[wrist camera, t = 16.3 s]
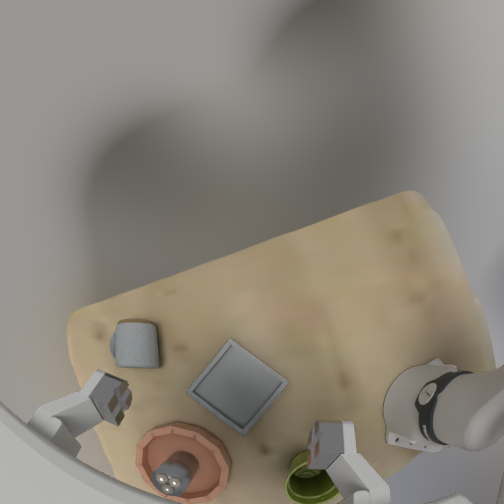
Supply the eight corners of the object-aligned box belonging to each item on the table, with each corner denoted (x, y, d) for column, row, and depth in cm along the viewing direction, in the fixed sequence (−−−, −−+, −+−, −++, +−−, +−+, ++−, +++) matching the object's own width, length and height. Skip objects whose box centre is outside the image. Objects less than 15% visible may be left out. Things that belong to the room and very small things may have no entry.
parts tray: (288, 380, 41) (289, 381, 40) (244, 432, 38) (243, 435, 36) (231, 338, 44) (230, 337, 42) (188, 390, 41) (185, 391, 39)
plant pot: (332, 480, 33) (345, 500, 25) (280, 487, 33) (284, 509, 25) (334, 438, 37) (348, 453, 29) (280, 445, 37) (284, 462, 29)
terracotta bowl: (248, 460, 36) (247, 467, 33) (196, 507, 31) (192, 515, 28) (175, 405, 40) (168, 409, 37) (129, 456, 35) (121, 461, 32)
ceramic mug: (162, 322, 46) (144, 315, 38) (166, 367, 43) (148, 368, 35) (112, 326, 46) (90, 319, 38) (115, 368, 42) (93, 368, 35)
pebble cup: (205, 463, 35) (192, 486, 26) (187, 480, 33) (171, 504, 24) (180, 445, 36) (161, 464, 27) (163, 462, 35) (142, 482, 25)
